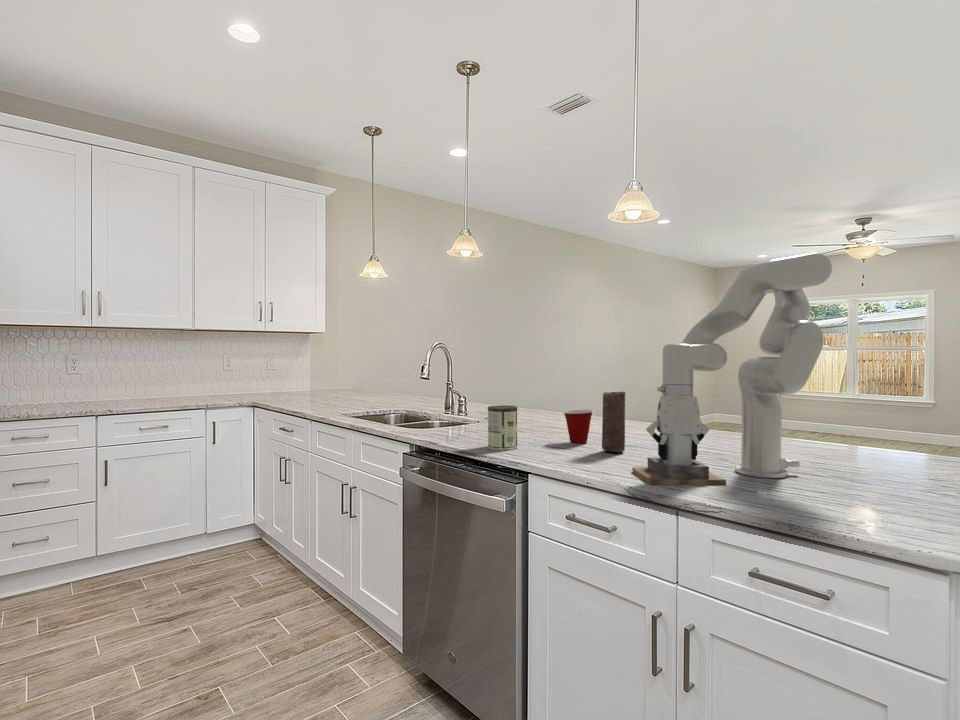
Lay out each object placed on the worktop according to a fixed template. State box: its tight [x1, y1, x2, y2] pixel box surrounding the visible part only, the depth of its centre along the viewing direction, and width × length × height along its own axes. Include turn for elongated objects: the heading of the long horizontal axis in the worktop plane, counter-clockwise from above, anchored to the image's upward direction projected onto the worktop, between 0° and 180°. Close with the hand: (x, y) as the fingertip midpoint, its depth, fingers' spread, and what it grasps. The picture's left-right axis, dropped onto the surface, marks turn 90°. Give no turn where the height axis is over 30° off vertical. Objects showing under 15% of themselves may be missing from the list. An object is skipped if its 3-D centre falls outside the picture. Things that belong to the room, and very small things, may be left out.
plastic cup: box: [562, 409, 594, 445], centre depth 187 cm, size 11×11×12 cm
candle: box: [601, 391, 626, 453], centre depth 169 cm, size 8×7×20 cm
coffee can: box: [487, 405, 519, 451], centre depth 178 cm, size 10×10×14 cm
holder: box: [632, 457, 727, 486], centre depth 135 cm, size 19×14×4 cm
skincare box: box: [663, 427, 692, 466], centre depth 135 cm, size 6×4×12 cm
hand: (677, 458), depth 135 cm, fingers closed on skincare box, 7 cm apart
